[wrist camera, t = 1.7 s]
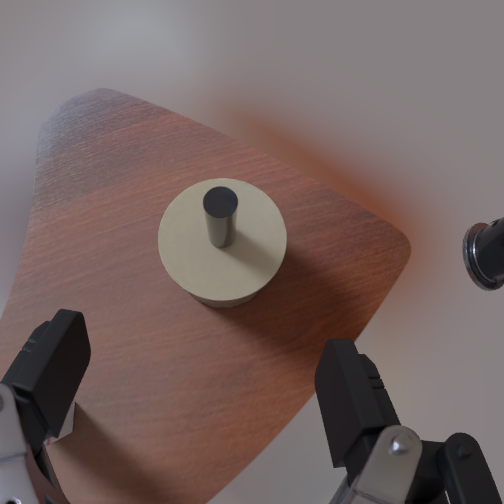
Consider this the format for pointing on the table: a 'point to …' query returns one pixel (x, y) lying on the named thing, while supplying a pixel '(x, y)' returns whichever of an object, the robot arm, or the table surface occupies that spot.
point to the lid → (222, 239)
